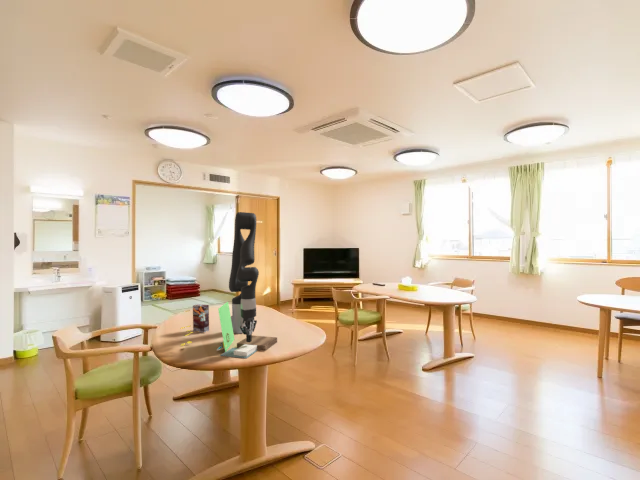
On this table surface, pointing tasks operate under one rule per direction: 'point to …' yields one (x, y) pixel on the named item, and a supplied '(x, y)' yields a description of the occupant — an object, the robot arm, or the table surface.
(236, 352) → the tile
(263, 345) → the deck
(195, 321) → the supplement box
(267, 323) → the table surface
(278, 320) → the table surface
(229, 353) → the mat
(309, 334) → the table surface
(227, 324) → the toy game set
